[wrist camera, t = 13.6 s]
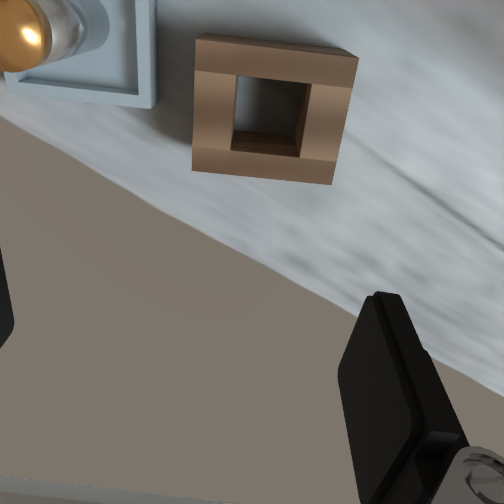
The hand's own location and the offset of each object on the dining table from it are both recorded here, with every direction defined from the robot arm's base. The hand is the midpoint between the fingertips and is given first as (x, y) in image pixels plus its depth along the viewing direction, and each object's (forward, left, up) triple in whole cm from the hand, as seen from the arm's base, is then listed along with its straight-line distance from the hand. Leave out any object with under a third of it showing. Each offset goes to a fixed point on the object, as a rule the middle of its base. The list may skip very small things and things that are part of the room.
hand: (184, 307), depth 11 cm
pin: (-4, -13, -30) cm, 33 cm away
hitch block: (+1, +3, -31) cm, 31 cm away
